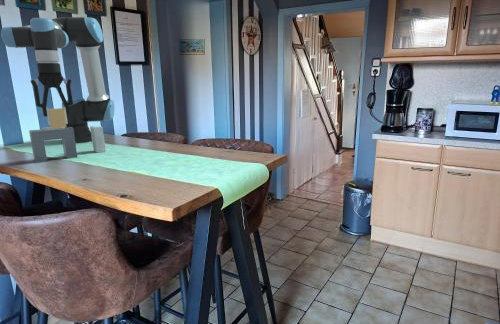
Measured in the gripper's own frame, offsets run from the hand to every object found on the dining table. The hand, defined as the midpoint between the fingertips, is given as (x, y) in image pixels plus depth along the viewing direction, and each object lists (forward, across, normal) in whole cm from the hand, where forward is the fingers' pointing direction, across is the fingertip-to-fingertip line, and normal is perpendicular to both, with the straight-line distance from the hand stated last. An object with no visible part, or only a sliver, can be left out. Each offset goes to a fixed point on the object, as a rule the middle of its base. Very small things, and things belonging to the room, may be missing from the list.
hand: (58, 123), depth 133 cm
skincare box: (+18, -18, -19) cm, 31 cm away
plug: (+1, 0, -6) cm, 6 cm away
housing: (+17, +1, -15) cm, 23 cm away
